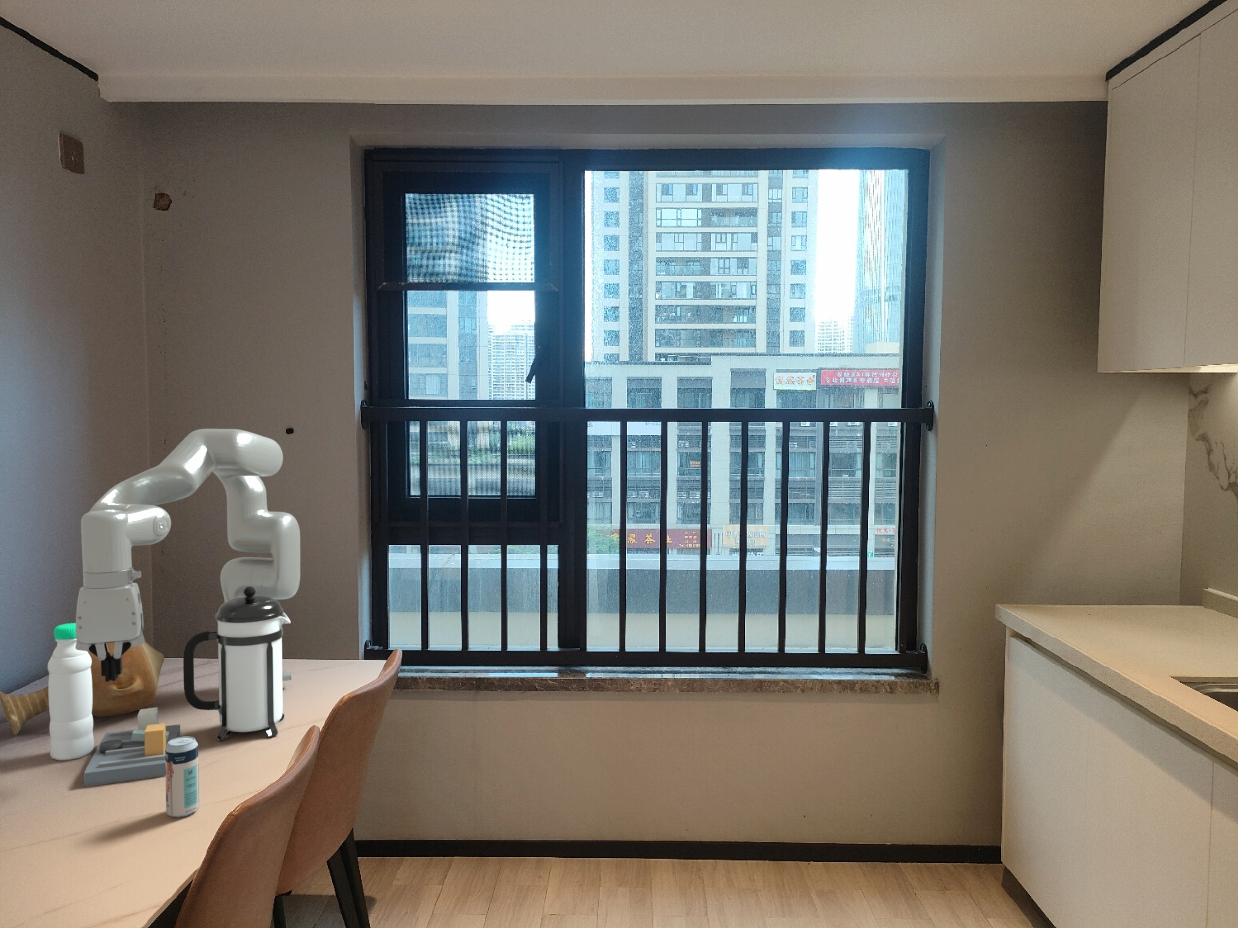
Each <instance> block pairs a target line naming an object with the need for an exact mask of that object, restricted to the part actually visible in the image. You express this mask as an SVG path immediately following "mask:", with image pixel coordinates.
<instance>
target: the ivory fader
mask: <svg viewBox="0 0 1238 928" xmlns="http://www.w3.org/2000/svg"><path fill="white" fill-rule="evenodd" d="M154 724H159V707H157V706H156V707H149V708H147V707H146V708H141V709H139V712H138V714H137V729H141V730H146V727H147V725H154Z"/></svg>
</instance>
